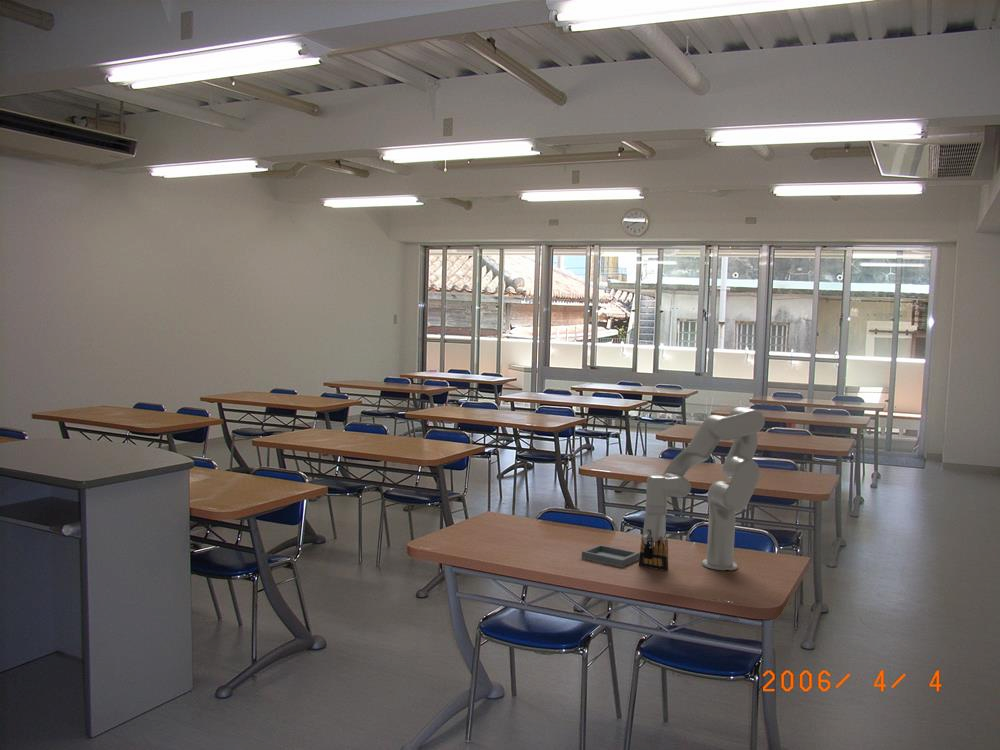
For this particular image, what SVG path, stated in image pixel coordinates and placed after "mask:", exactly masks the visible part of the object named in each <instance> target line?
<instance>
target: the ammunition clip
mask: <svg viewBox="0 0 1000 750" xmlns="http://www.w3.org/2000/svg"><path fill="white" fill-rule="evenodd" d="M664 539H665V542H664V552H663V537H662V536H661V539H660V545H659V546H658V541H656V542H654V543H653V546H652V548H653V559H647V558H644V543H643V542H644V540H643V533H642V534H641V539H640V540H641V541H640V547H639V549H640V551H639V560H638V566H639V567H644V566H646V567H645V568H649V567H652V568H651V569H654V568H657V569H656V570H660V569H663V570H662V571H665V570H667V569H668V570H669V540H668V536H665V538H664ZM651 540H652V539H651ZM649 543H650V544H651V542H649ZM668 570H667V571H668Z"/></svg>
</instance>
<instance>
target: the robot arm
mask: <svg viewBox="0 0 1000 750" xmlns="http://www.w3.org/2000/svg"><path fill="white" fill-rule="evenodd" d="M765 423H766V419H765V416H764V414H763V413H762V412H761V411H759V410H757V409H755V408H754V409H753V408H748V407H743V406H737V407H734V408H732V409H731V410H730V411H729V415H728V416H723V415H718V414H711V415H708V416H707V417H705V419H704V420H703V421H702V423H701V425H700V426H699V428H698V430H697V431H696V432H695V434H694V436H693V437H692V439H691V440H690V442H689V444H688V445H687V447H686V448H684V449H683V450H682V451H680V453H678V454H677V455H676V456H675V457H674V458H673V459H672V460H671V461H670V462H669V464H668V465H667V467H666V469H665V470H664V472H663V473H662V475H661V474H650V475H649V476H648V477H647V478H646V493H645V497H646V499H645V517H644V520H643V521H644V522H643V530H642V534H643V540H644V542H643V543H644V558H647V559H653V548H652V546H653V543H654V544H655V542H656V541H658V546H659V545H660V539H661V536H662V537H663V552H664V544H665V539H666V533H667V529H666V527H667V526H666V524H667V523H666V515H667V512H668V510H667V506H668V497H675V498H685V497H687V496H688V495H689V494H690V493H691V490H692V485H691V483H690V481H689V480H688V479H687V478H686V477H685V475H686V474H687V472H689V470H690V469H691V468H693V467H695V466H696V465H699V464H701V463H704V462H706V461H707V460H709V459H710V456H711V455H712V453H713V451H714V450H715V448H716V447H717V446H718V445H719V443H720V441H730V440H731V441H732V440H733V442H732V445H731V447H730V450H729V452H728V454H727V456H726V458H725V460H724V462H723V465H722V473H723V475H724V477H725V478H727V479H729V480H730V482H727V481H725V480H718V481H714V482H713V483H712V484H711V485H710V486H709V488H708V492H707V503H708V529H707V548H706V558H705V559H703V560H702V562H701V563H702V564H701V565H702V566H704V567H705V568H709V569H710V570H715V571H723V572H725V570H729V571H735V570H737V569H738V564H737V563H736V562H735V561H734V556H735V552H734V551H735V537H736V536H735V535H736V534H735V531H736V513H741V512H742V511H744V509H746V507H747V505H748V504H749V502H750V500H751V498H752V496H753V494H754V491H755V489H756V487H757V485H758V482H759V479H760V476H761V475H760V473H761V469H760V467H759V465H758V463H757V462H756V461H755V460H753V459H754V456H755V454H756V453H755V452H756V450H757V448H758V442H759V440H758V434H757V433H759V432H760V431H761V430H763V428H764V426H765V425H766V424H765ZM651 539H652V540H651ZM650 542H651V544H650Z"/></svg>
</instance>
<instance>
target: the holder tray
mask: <svg viewBox="0 0 1000 750" xmlns="http://www.w3.org/2000/svg"><path fill="white" fill-rule="evenodd" d="M639 556H640V552H638V551H632V550H627V549H624V548H623V549H622V548H619V547H618V548H617V547H613V546H608V545H604V544H598V545H595V546H593V547H590V548H587V549H585V550H583V551H581V559H582V558H583V560H586V559H587V561H591V560H592V561H591V562H595V561H596V563H600V562H601V563H600V564H605V563H606V565H609V564H611V565H610V566H614V565H615V566H614V567H618V566H620V567H619V568H624V567H626V565H627V566H629V565H631V564H633V563H636V562H637V561H639ZM630 563H631V564H630ZM628 564H629V565H628Z"/></svg>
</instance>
